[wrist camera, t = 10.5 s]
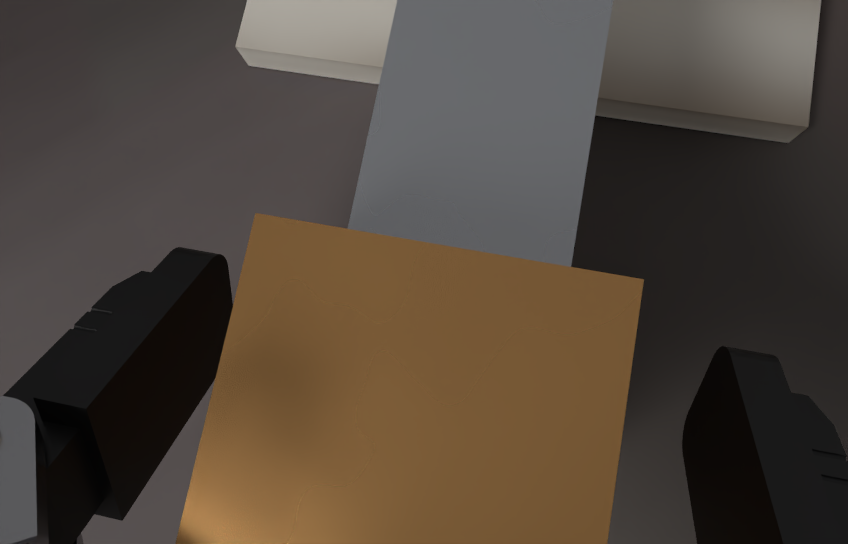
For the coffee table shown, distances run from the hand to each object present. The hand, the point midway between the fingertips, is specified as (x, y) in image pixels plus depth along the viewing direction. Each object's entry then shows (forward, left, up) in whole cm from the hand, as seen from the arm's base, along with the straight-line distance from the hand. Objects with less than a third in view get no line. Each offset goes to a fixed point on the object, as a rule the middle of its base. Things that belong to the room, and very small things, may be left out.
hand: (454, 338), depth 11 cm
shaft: (-8, +3, -4) cm, 9 cm away
